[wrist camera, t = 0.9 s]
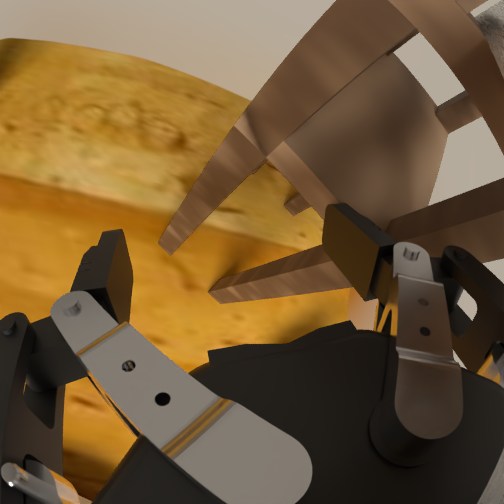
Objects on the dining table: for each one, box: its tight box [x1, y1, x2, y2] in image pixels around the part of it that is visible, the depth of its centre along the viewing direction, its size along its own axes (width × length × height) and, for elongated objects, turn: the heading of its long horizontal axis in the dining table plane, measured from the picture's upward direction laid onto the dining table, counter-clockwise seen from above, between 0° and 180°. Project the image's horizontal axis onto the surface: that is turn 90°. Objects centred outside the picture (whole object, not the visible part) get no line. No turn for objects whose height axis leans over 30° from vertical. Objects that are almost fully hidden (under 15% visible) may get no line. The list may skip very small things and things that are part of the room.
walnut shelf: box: [158, 0, 504, 304], centre depth 22 cm, size 10×18×35 cm, turn 140°
